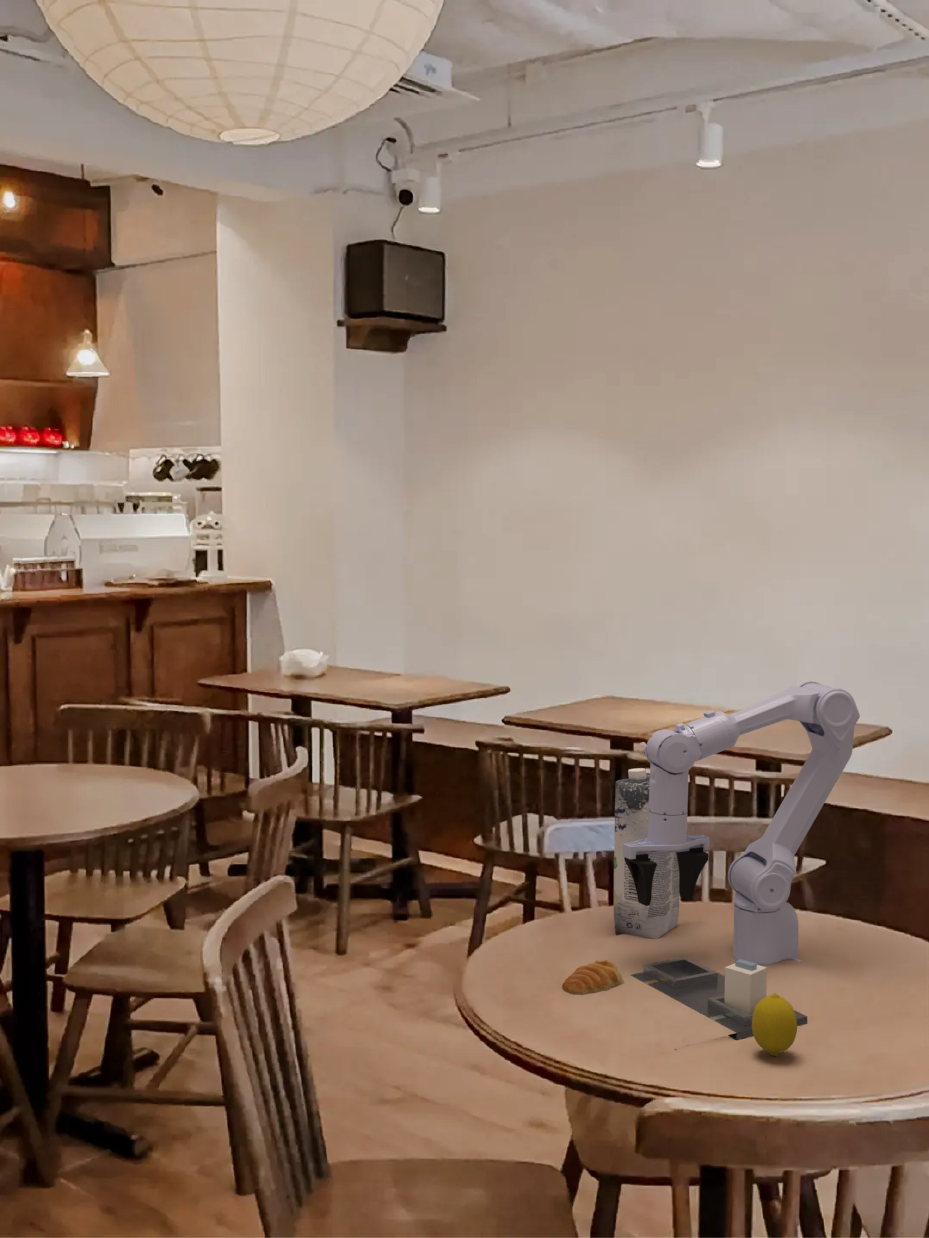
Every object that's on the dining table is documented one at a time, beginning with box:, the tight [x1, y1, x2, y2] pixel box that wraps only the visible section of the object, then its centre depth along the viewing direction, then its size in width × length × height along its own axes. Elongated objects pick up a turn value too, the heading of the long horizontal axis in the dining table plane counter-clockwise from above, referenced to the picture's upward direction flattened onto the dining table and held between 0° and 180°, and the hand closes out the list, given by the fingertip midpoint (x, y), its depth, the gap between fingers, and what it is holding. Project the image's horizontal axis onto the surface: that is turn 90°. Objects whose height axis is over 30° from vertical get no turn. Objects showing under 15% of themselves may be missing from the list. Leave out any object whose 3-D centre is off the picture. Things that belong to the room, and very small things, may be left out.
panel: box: [630, 956, 808, 1041], centre depth 181 cm, size 12×24×2 cm, turn 28°
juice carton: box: [613, 767, 680, 940], centre depth 210 cm, size 9×10×27 cm
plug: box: [724, 959, 768, 1014], centre depth 175 cm, size 4×4×7 cm
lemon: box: [752, 992, 798, 1057], centre depth 163 cm, size 6×6×8 cm
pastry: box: [561, 959, 625, 996], centre depth 185 cm, size 9×7×4 cm
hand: (665, 900), depth 194 cm, fingers open, 7 cm apart
